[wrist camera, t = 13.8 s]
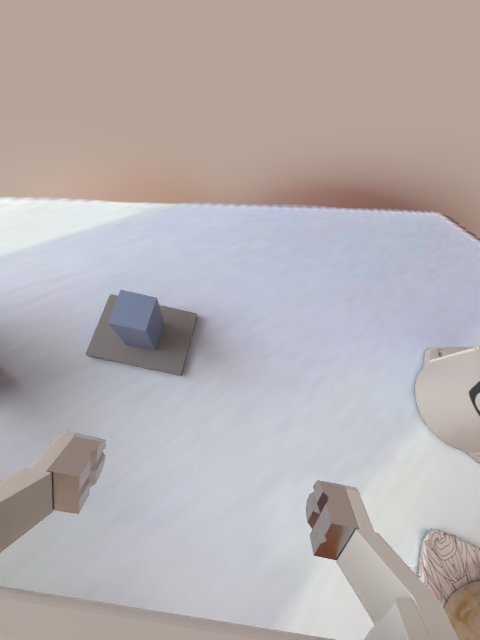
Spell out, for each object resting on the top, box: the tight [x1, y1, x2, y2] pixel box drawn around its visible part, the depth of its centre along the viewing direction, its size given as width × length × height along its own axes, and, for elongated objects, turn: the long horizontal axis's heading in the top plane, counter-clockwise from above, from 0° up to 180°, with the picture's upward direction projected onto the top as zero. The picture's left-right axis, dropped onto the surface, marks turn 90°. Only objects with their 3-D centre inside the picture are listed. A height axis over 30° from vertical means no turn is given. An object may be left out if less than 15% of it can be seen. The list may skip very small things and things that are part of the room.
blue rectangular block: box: [108, 290, 164, 351], centre depth 39 cm, size 5×5×9 cm
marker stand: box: [86, 294, 197, 375], centre depth 40 cm, size 14×10×8 cm
